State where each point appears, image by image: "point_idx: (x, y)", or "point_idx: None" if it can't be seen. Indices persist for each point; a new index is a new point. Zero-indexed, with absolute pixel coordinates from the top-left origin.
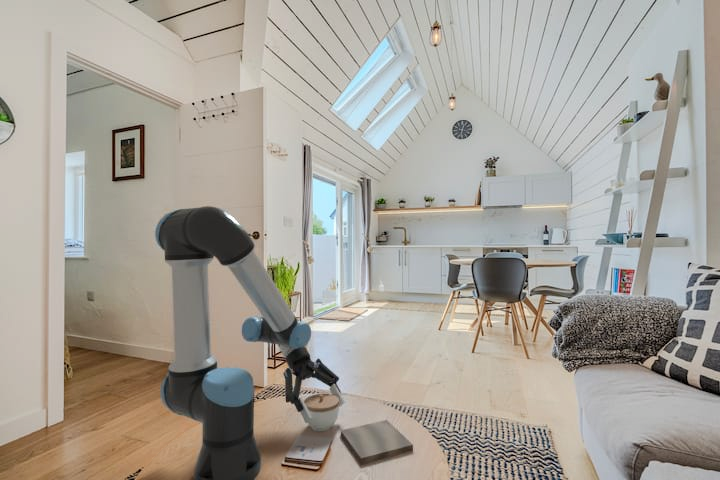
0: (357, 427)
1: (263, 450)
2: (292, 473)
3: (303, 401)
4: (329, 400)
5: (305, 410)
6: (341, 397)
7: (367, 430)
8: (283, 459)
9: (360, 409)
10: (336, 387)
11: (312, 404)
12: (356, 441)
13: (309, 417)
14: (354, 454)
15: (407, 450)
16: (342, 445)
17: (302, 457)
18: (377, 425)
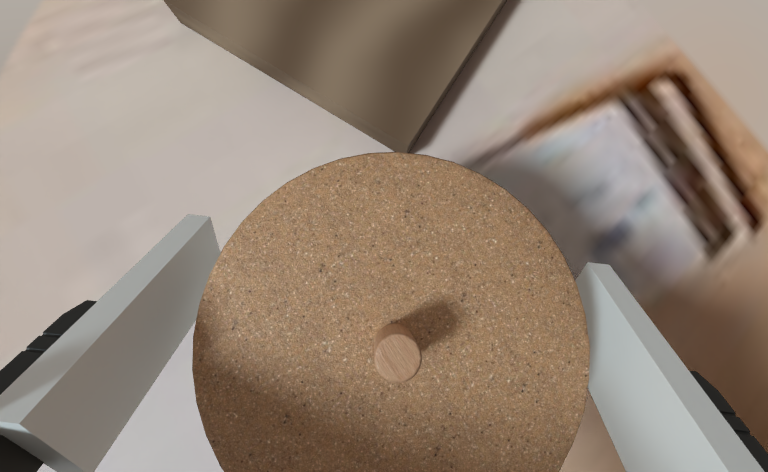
0: (328, 86)
1: (756, 401)
2: (761, 143)
3: (701, 423)
4: (353, 256)
5: (651, 332)
6: (168, 248)
7: (326, 26)
8: (730, 250)
9: (74, 247)
10: (57, 349)
11: (539, 350)
12: (451, 14)
13: (612, 271)
14: (499, 11)
15: None
16: (471, 98)
17: (660, 188)
18: (247, 11)
